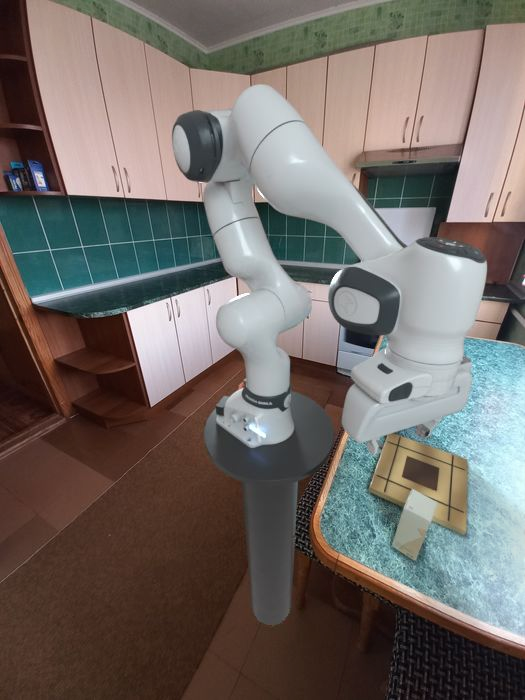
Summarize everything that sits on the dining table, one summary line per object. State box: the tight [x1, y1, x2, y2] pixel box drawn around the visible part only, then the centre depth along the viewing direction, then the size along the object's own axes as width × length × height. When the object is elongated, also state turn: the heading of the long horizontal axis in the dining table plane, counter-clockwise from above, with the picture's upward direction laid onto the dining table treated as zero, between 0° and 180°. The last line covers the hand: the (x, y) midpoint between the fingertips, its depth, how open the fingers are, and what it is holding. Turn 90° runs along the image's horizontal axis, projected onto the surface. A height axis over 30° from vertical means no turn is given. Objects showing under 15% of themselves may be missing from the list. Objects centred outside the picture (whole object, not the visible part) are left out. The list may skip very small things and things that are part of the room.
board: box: [368, 432, 468, 536], centre depth 67 cm, size 18×20×2 cm
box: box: [391, 489, 437, 562], centre depth 52 cm, size 5×4×11 cm
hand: (398, 442), depth 45 cm, fingers open, 8 cm apart
